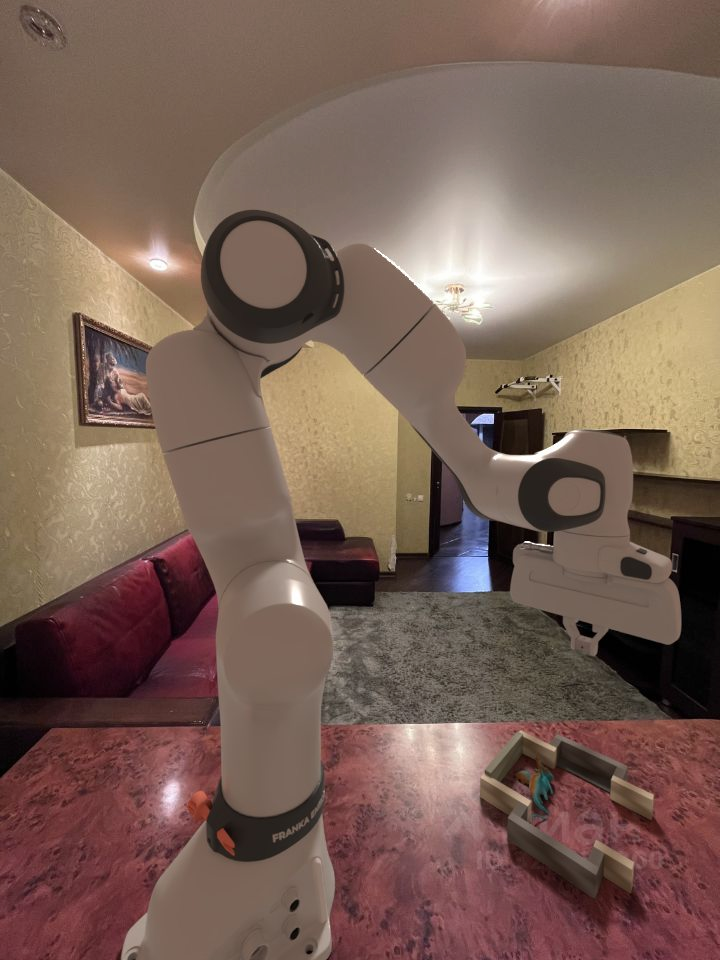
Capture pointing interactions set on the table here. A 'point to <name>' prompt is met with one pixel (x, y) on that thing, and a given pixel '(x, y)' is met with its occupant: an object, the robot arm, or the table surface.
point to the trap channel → (542, 845)
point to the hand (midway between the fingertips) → (583, 651)
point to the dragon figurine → (537, 784)
